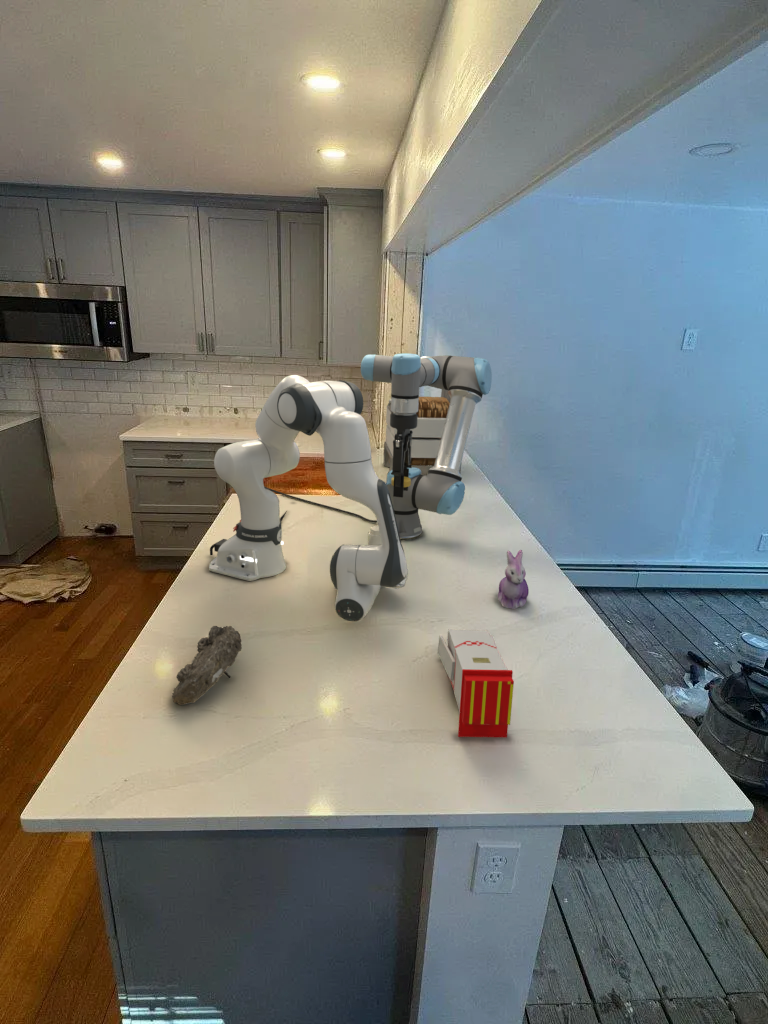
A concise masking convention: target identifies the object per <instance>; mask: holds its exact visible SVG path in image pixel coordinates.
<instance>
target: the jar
mask: <svg viewBox="0 0 768 1024" xmlns="http://www.w3.org/2000/svg"><path fill="white" fill-rule="evenodd" d="M367 545H377V546H379V545H382V541H381V536H380V532H379V528H378V525H373V526H371V527H370V529H369V531H368V532H367Z"/></svg>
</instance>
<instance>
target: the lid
mask: <svg viewBox="0 0 768 1024" xmlns="http://www.w3.org/2000/svg"><path fill="white" fill-rule="evenodd" d="M391 484H392V485H393V486H394V477H393V478H392V480H391ZM410 485H411V479H410V478H408V477H404V487H409V486H410Z"/></svg>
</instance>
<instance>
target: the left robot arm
mask: <svg viewBox="0 0 768 1024" xmlns="http://www.w3.org/2000/svg"><path fill="white" fill-rule="evenodd" d="M361 391H362V390H361V389H360V388H359V386H358V385H356V384H355V383H353V382H351V381H347V380H341V379H339V380H317V381H309V380H308V379H307V378H305V377H303V376H301V375H297V374H291V375H290V374H289V375H287V376H285V377H283V378H282V379H281V380H280V382H279V383H278V384H277V385H276V386H275V387H274V389H273V390H271V393H270V394H269V396H268V397H267V399H266V401H265V402H264V405H263V406H262V408H261V410H260V412H259V414H258V416H257V418H256V420H255V424H254V425H255V427H254V428H255V432H256V434H257V436H258V438H254V439H249V440H243V441H237V442H233V443H230V444H227V445H225V446H222V447H220V448H218V449H217V451H216V453H215V455H214V460H213V466H214V470H215V472H216V474H217V476H218V477H219V478H220V480H222V481H223V482H225V483H226V484H228V485H230V486H231V488H232V489H233V490H234V492H235V493H236V495H237V498H238V502H239V511H240V512H239V513H240V520H239V521H238V522H237V523H236V524H235V526H234V527H233V528H232V529H233V533H234V532H235V534H233V535H232V536H231V537H229V538H228V539H227V538H222V539H221V540H219V541H217V542H215V543H214V544H212V545H211V546H210V547H209V556H214V552H217V553H216V556H215V557H214V558H213V559H212V560H211V561H210V562H209V564H208V565H209V566H208V570H209V572H213V573H217V574H220V575H223V576H224V575H225V576H228V577H232V578H236V579H239V580H244V581H248V582H252V581H256V580H259V579H263V578H269V577H273V576H277V575H279V574H281V573H283V572H284V571H285V570H286V569H287V563H286V560H285V556H284V552H283V547H282V545H284V541H283V528H282V521H281V522H280V518H281V515H280V514H281V513H280V512H281V511H280V508H281V507H280V506H281V505H280V499H279V497H278V495H277V493H275V492H272V491H270V490H268V489H265V488H264V487H265V485H264V479H265V478H270V477H274V476H279V475H283V474H286V473H288V472H290V471H292V470H294V469H296V468H297V466H298V465H299V463H300V459H301V452H300V448H299V446H298V444H297V443H296V441H295V440H296V438H297V436H299V433H300V432H301V433H303V434H305V435H307V436H312V435H314V434H315V432H316V433H317V434H318V435H319V436H320V438H321V440H322V443H323V457H324V473H325V477H326V481H327V484H328V485H329V486H330V488H331V489H332V490H333V491H335V493H337V494H339V495H340V496H342V497H343V498H346V499H348V500H351V501H354V502H356V503H359V504H361V505H363V506H365V507H366V508H368V509H369V510H370V511H371V512H372V513H373V514H374V516H375V519H376V520H377V523H376V524H377V526H378V528H379V532H380V536H381V541H382V545H379V546H377V545H368V544H345V543H344V544H341V545H339V547H338V548H337V549H336V550H335V551H334V553H333V554H332V556H331V559H330V561H329V562H330V563H329V574H330V575H329V576H330V580H331V583H332V585H333V588H334V589H335V590H336V597H335V602H334V610H335V612H336V614H337V616H338V617H340V619H343V620H344V621H347V622H359V621H361V620H363V619H364V618H365V617H366V616H367V615H368V613H369V612H370V611H371V608H373V605H374V603H375V601H376V598H377V597H378V595H379V592H380V591H381V588H382V587H383V588H390V589H400V588H402V587H405V585H406V583H407V581H408V576H409V569H408V560H407V556H406V554H405V550H404V547H403V543H402V540H400V536H399V531H398V527H397V522H396V518H395V513H394V509H393V505H392V500H391V497H390V493H389V490H388V487H387V485H386V481H384V480H382V479H380V477H379V476H378V474H377V473H376V471H375V469H374V466H373V462H372V461H373V460H372V449H371V448H372V447H371V441H370V435H369V429H368V426H367V422H366V420H365V418H364V417H363V416H362V412H363V409H364V397H363V393H362V392H361Z"/></svg>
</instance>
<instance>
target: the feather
mask: <svg viewBox="0 0 768 1024" xmlns="http://www.w3.org/2000/svg"><path fill="white" fill-rule="evenodd" d="M287 512H288V510H286V511H285V512H284V513H283V514H282V515H281V516H280V522H281V523H282V522H283V519H284V518H285V516H286V514H287Z"/></svg>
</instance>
